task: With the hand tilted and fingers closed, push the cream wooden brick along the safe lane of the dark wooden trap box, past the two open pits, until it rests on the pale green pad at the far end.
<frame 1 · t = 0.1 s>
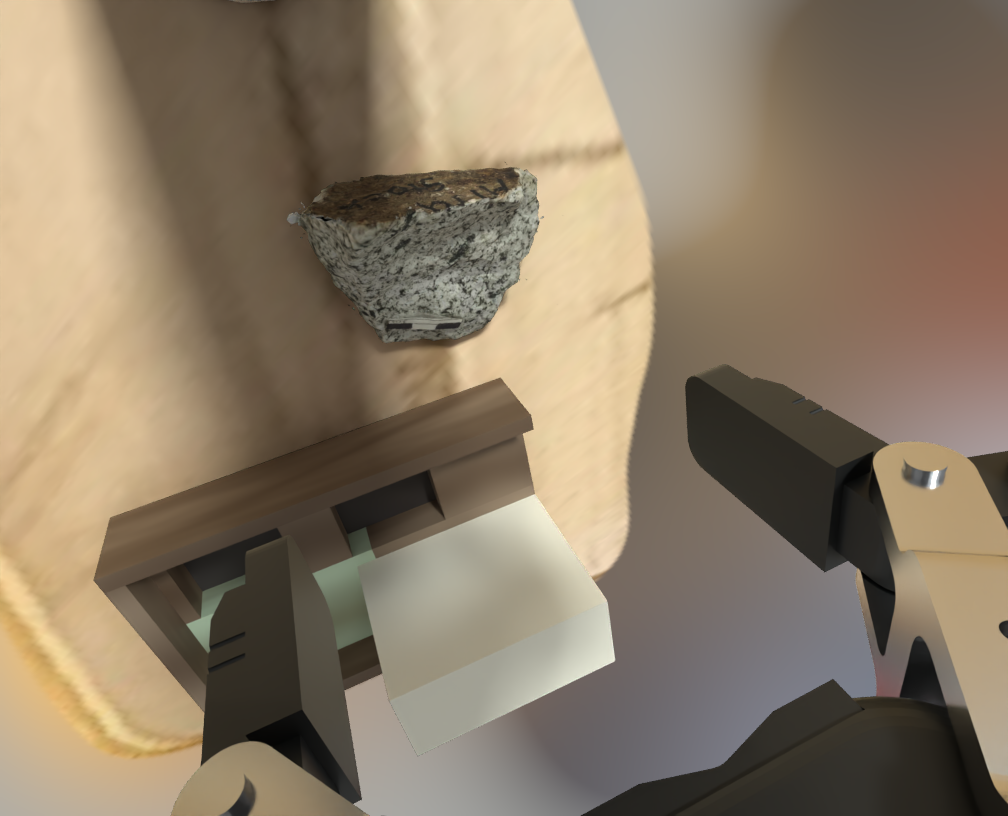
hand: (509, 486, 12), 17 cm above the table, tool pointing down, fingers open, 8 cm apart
brick: (458, 558, 33), point 2 cm above the table, touching trap box
trap box: (358, 534, 33), on the table
rock sample: (433, 244, 27), on the table
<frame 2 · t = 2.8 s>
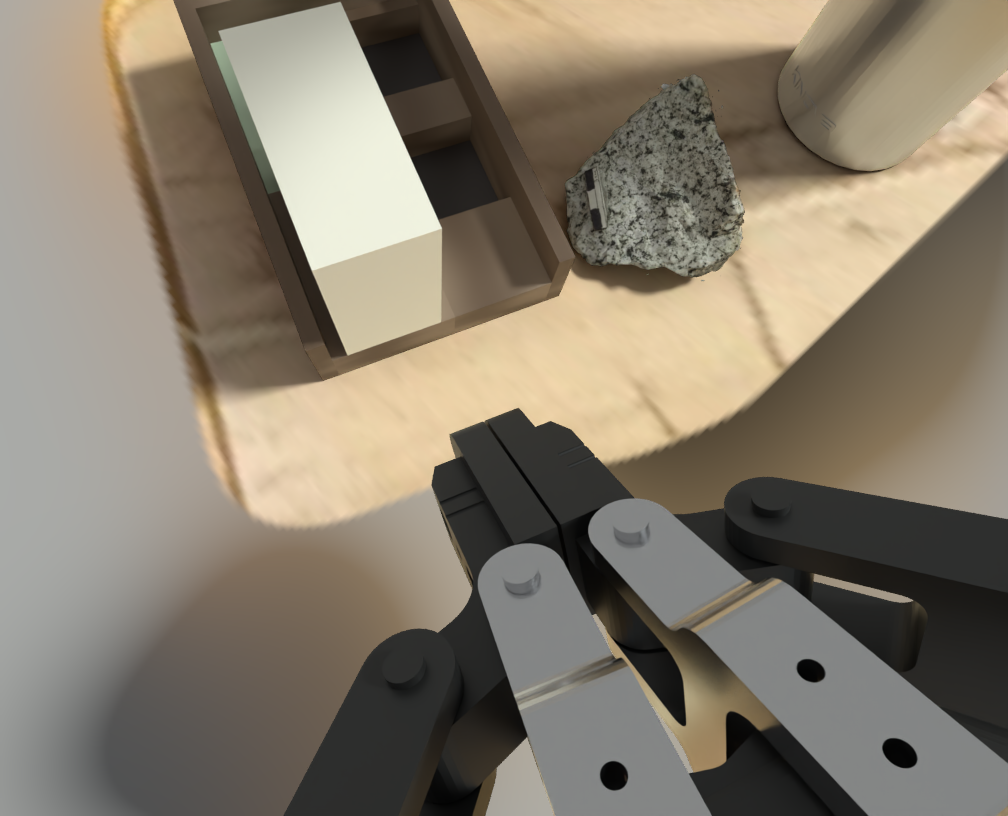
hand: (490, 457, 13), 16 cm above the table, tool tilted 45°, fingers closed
brick: (357, 245, 29), point 2 cm above the table, touching trap box
trap box: (377, 178, 32), on the table
rock sample: (640, 229, 33), on the table
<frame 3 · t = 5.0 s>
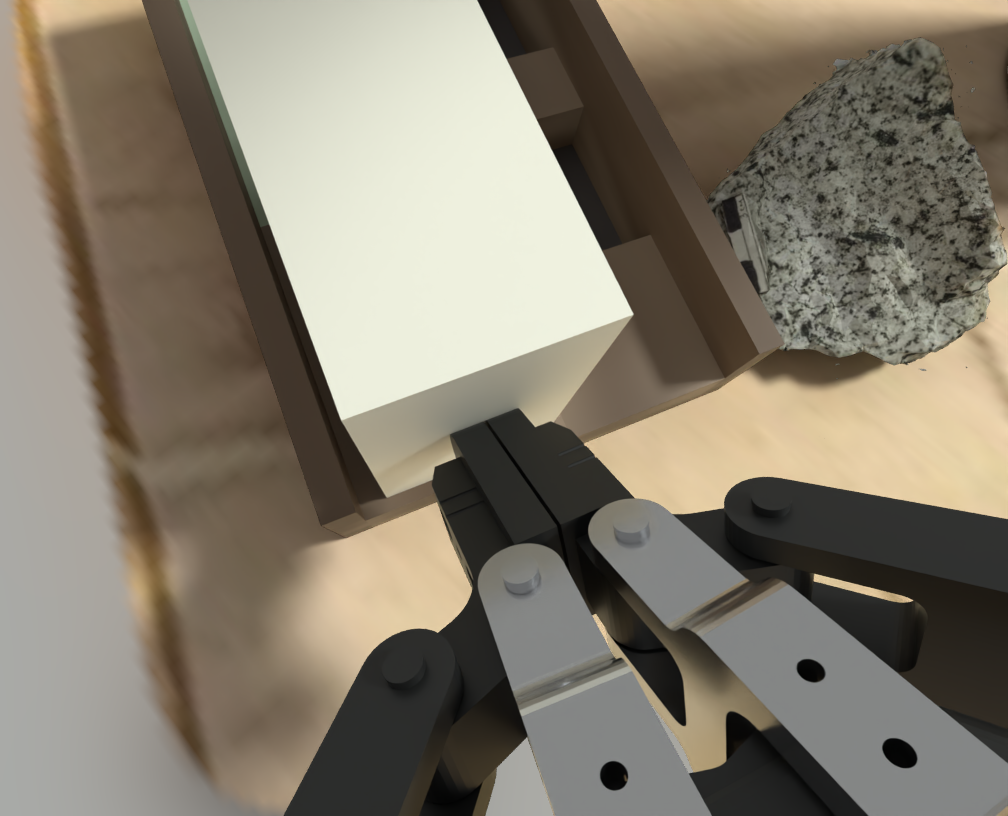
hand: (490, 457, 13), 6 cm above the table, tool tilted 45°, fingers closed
brick: (401, 304, 17), point 2 cm above the table, touching gripper
trap box: (432, 201, 21), on the table
rock sample: (797, 284, 22), on the table
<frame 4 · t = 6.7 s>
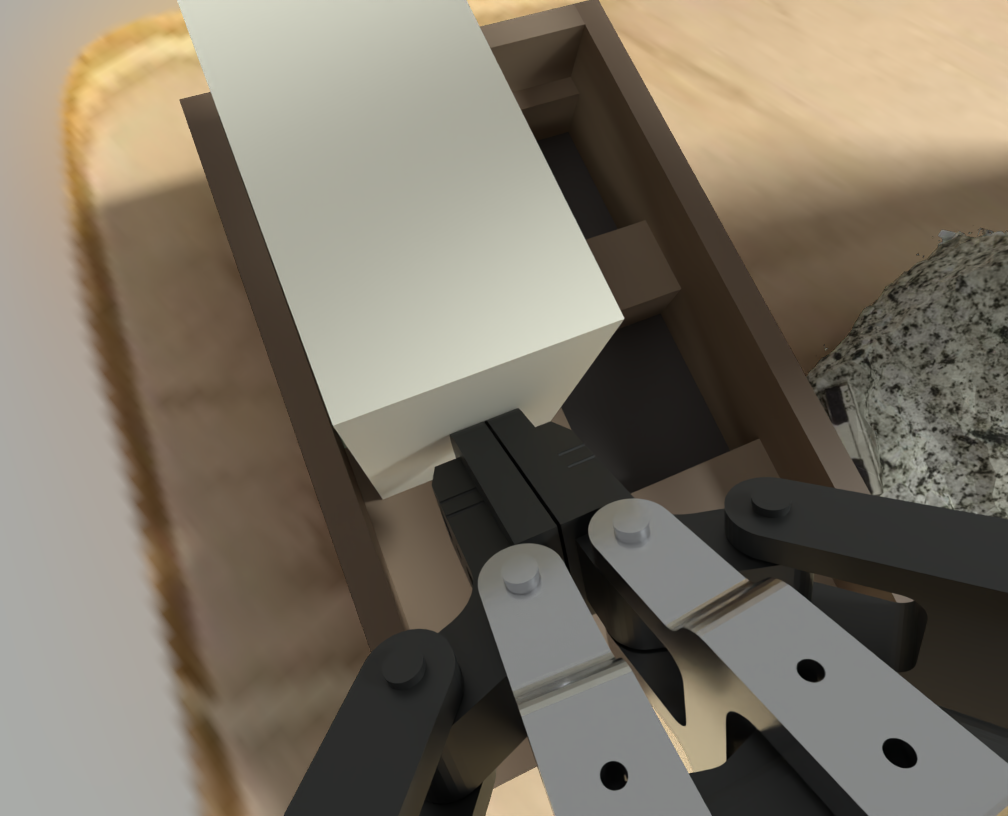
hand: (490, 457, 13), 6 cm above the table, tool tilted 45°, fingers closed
brick: (397, 306, 17), point 2 cm above the table, touching gripper, trap box
trap box: (515, 384, 19), on the table
rock sample: (896, 458, 20), on the table
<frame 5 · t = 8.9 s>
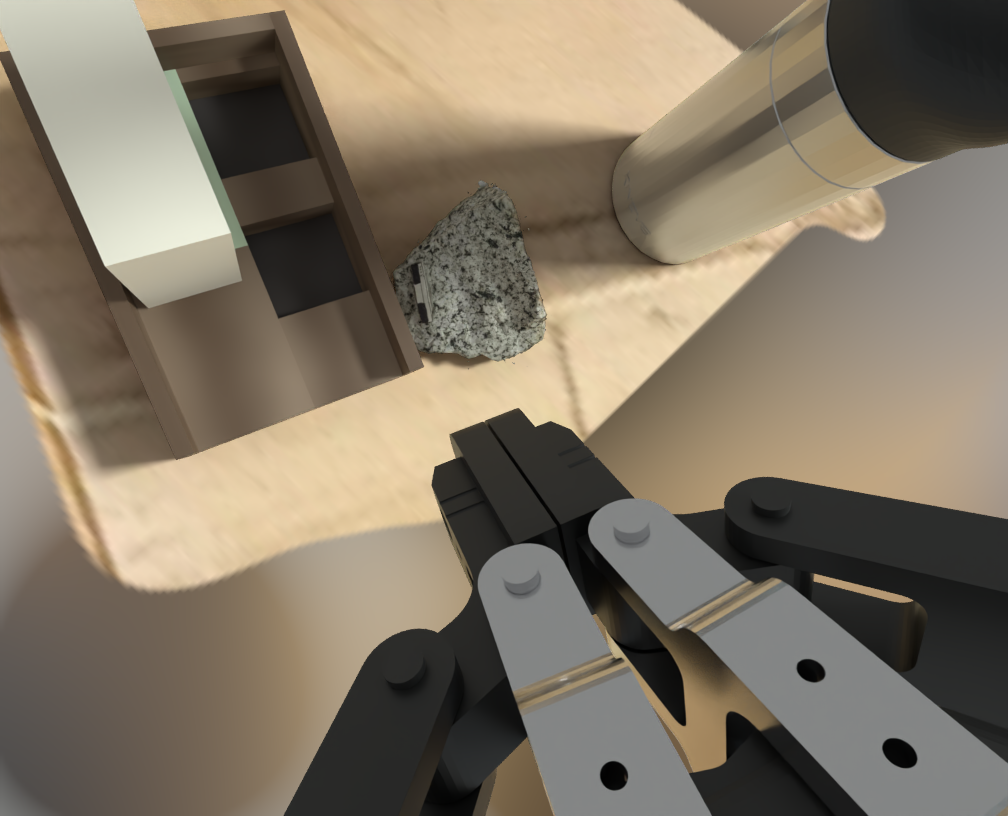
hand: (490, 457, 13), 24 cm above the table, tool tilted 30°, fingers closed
brick: (155, 197, 30), point 2 cm above the table, touching trap box
trap box: (237, 249, 33), on the table
rock sample: (462, 305, 38), on the table
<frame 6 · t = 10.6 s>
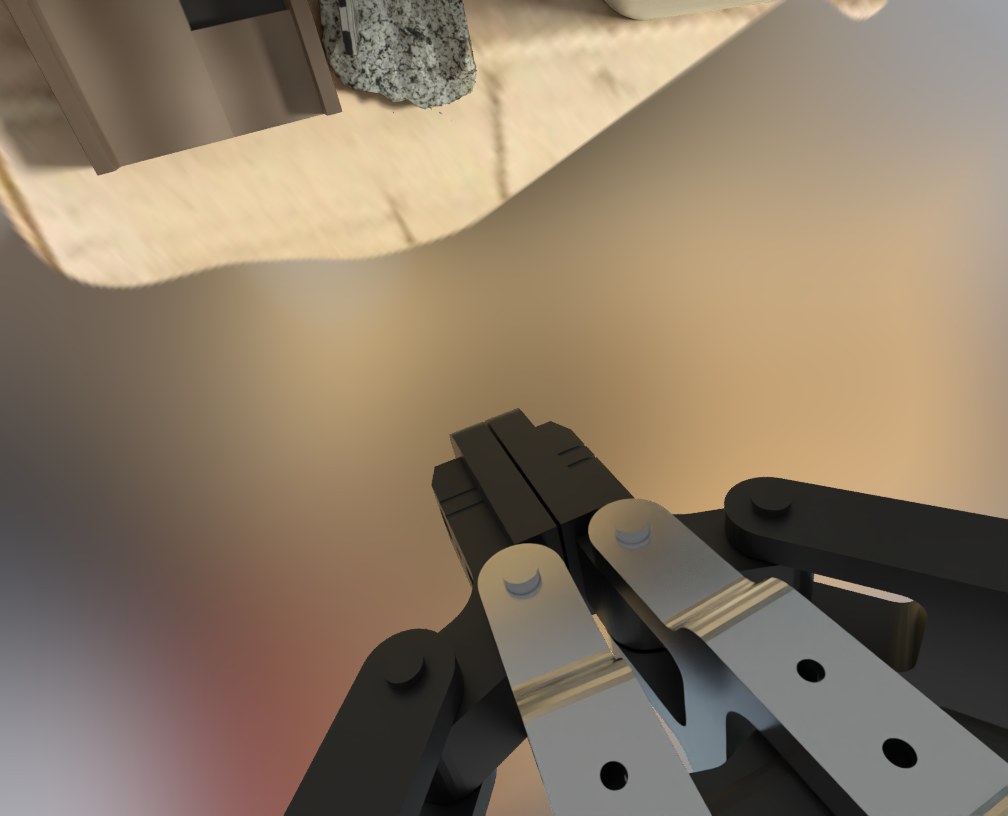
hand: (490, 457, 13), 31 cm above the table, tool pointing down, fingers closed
rock sample: (395, 34, 36), on the table
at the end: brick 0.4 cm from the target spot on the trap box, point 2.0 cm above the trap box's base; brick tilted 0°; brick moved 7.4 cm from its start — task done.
